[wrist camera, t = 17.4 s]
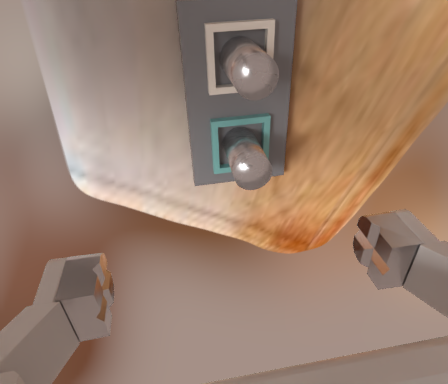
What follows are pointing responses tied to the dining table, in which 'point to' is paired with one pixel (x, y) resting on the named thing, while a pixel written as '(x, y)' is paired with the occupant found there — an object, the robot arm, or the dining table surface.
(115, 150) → the dining table surface
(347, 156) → the dining table surface
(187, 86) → the grey flat plate
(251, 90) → the grey tall round-topped piece
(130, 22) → the dining table surface
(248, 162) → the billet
